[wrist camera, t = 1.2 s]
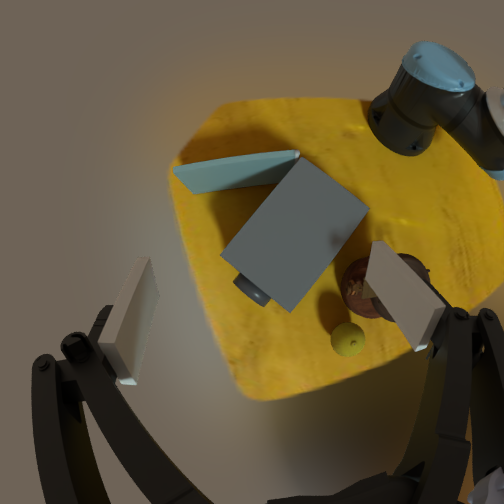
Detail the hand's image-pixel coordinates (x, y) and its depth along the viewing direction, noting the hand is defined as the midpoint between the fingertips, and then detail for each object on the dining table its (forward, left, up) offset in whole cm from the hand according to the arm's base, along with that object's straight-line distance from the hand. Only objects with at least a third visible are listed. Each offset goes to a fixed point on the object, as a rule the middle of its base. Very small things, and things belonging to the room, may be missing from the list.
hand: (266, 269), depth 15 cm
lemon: (0, +16, -31) cm, 35 cm away
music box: (-10, +15, -31) cm, 36 cm away
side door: (-10, -15, -31) cm, 36 cm away
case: (-7, -1, -31) cm, 32 cm away
